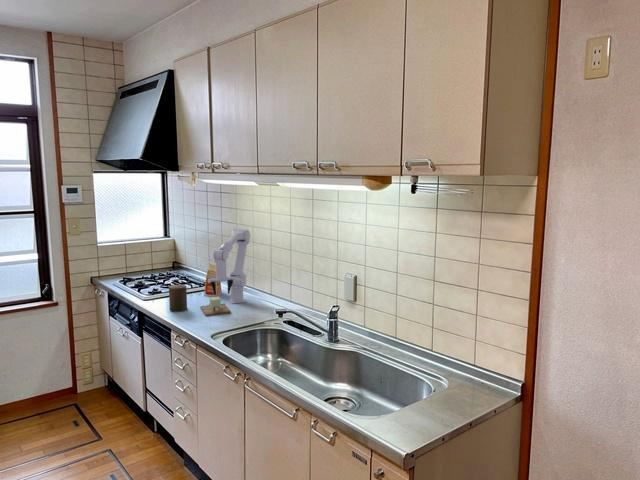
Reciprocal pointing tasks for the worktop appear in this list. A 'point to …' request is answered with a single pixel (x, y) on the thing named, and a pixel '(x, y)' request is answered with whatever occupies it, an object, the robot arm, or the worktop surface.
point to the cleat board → (209, 312)
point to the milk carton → (208, 287)
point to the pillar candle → (177, 298)
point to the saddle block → (215, 303)
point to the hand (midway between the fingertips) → (221, 293)
